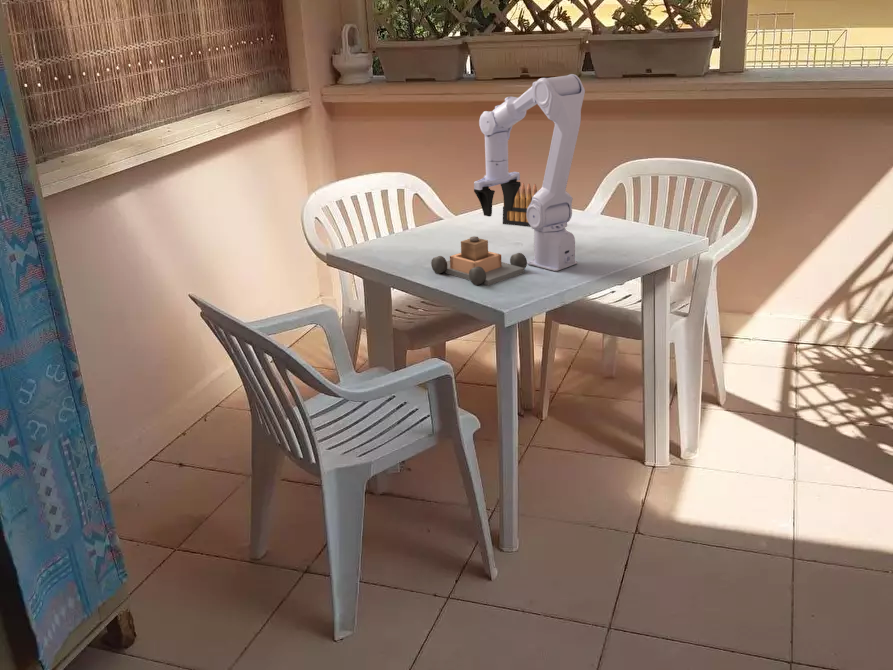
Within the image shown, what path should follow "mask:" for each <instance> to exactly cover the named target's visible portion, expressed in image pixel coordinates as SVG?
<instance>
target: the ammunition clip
mask: <svg viewBox="0 0 893 670" xmlns="http://www.w3.org/2000/svg"><path fill="white" fill-rule="evenodd" d="M520 187H521V189H520V188H519V190H518V192H517V194H516V197H515V200H514V204H513V208H512V210H511V211H510V210H505V208H504V205H503V206H502V225H507V226H508V225H509V226H519V227H528V228H532V227H531V226H530V224H529V223H528V220H527V208H528V206H529V205H530V204H531V201H532V197H533V196H534V195H535V194H536V193H537V192H538V189H537V188H538V186H537V183H534V184H533V187H531V184H530V183H527V187H525V183H524V182H521V186H520ZM502 199H503V201H504V197H502Z"/></svg>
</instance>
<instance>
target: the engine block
mask: <svg viewBox="0 0 893 670" xmlns="http://www.w3.org/2000/svg"><path fill="white" fill-rule="evenodd" d="M488 251H489V241H488V239H484V238H480V237H478V236H475V235H474V236H470V237H469V238H467V239H464V240H461V241H460V253H461V258H465V259H468V260H472V261H478V260H481V259H484V258H487V257H488Z"/></svg>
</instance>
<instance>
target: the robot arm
mask: <svg viewBox="0 0 893 670" xmlns="http://www.w3.org/2000/svg"><path fill="white" fill-rule="evenodd" d="M585 89H586V88H585V87H584V85H583V83H582V81H581V79H580V77H579V76H578V75H576V74H573V73H570V74H568V75H561V76H560V75H559V76H555V77H554V76H552V77H541V78H538V79H537V80H535V81H533V82H532V86H531V87H529V88H528V89H527V90H526V91H524V93H522V94H521V95H519V96H518V97H516V96H512V95H510V96H507V97H505V98H504V101H503V102H502V103H501V104H497V105H495V106H494V109H493V110H490V111H489V110H488V111H487V110H485V111H483V112H482V113H481V114H480V117H479V120H478V125H479V128H480V132H481V133H482V134H483V135H484V152H485V153H484V155H485V156H484V157H485V159H484V160H485V174H484V175H483V177H482V178H481V179H478V180H475V181H474V182H473V193H474V194H475V195H476V197H477V199H478V201H479V204H480V207H481V208H482V214H483V216H485V217H492V216H493V215H492V214H493V200H494V195H495V192H496V191H495V190H494V189H491V188H490V187H494V186H498V185H500V187H501V191H502V195H503V197H504V200H503V206H504V208H505V210H510V211H511V210H512V208H513V204H514V200H515V197H516V194H517V192H518V190H519V189H520V187H522V182H521V181H520V180H521V173H520V172H518V171H512V172H509V140H510V138H511V131H512V129H513V126H515V124H517V123H518V122H521V120H523V119H524V118H525V117H526V115H527V111H528V110H530V109H531V108H533V107H535V106H536V105H537V106H538V107H539V108H540V110H541V111H542V112H543V113H544V115H545V116H546V117H547V119H548V120H550V121H551V122H553V123H554V127H553V132H552V137H551V141H550V142H551V143H550V146H549V147H550V148H549V153H548V157H547V161H546V166H545V171H544V174H543V175H544V176H543V180H542V185H541V188H540V189H539V190H537V193H536V194H535V195H534V196H533V195H532V201H531V204H530V205H529V206H528V208H527V220H528V223H529V224H530V226H531V227H530V228H531V229H532V230H533V233H534V235H533V236H534V238H533V239H534V240H533V241H534V243H533V244H534V246H533V247H534V255H533V256H534V259H531V260H527V265H528V266H529V265H530V266H533V267H534V266H535V267H537V268H542V269H546V270H548V271H554V272H557V271H561V270H563V269H567V268H568V267H572V266H575V265H577V264H578V261H576V238H575V235H574V234H573V233H572V232H570V231H568V230H567V229H566V227H568V223H569V222H570V220H571V219H572V215H573V209H572V207H573V206H572V203H573V196H572V195H571V194H570V193H569V192H568V191H567V185H568V180H569V176H570V171H571V167H572V162H573V159H574V153H575V149H576V145H577V141H578V137H579V136H578V135H579V133H580V127H581V119H582V116H581V115H582V113H581V112H582V107H583V102H584V98H585V92H586V90H585ZM503 197H502V198H503Z"/></svg>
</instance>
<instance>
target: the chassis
mask: <svg viewBox="0 0 893 670" xmlns="http://www.w3.org/2000/svg"><path fill="white" fill-rule="evenodd" d="M527 262H528V260H527V258H526V255H525V254H524V253H521V252H516V253H514V254H512V255H511V256H510V259H509V263H506V262H504V261H502V254H500V253H497V252H492V251H489V250H488V257H487V258H484V259H481V260H478V261H472V260H468V259H465V258H461V252H460V253H456V254H451V255H450V256H449V260H448V261H447V260H446V258H445V257H444V256H443V255H438V256H435V257H433V258H432V259H431V261H430V265H431V269H432V270H433V272H434V273H435V274H437V275H440V274H443V273H444V274H448V275H451V276H455V277H458V278H462V279H465V280H468V281H470V282H471V284H473V286H474V285H475V286H479V285H484V286H490V285H493V284H494V285H495V284H496V283H497V284H498V283H499V282H502V281H504V280H507V279H510V278H514V277H515V276H519V275H521V274H524V273H525V269H526V267H528V266H527V265H528V264H527Z"/></svg>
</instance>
